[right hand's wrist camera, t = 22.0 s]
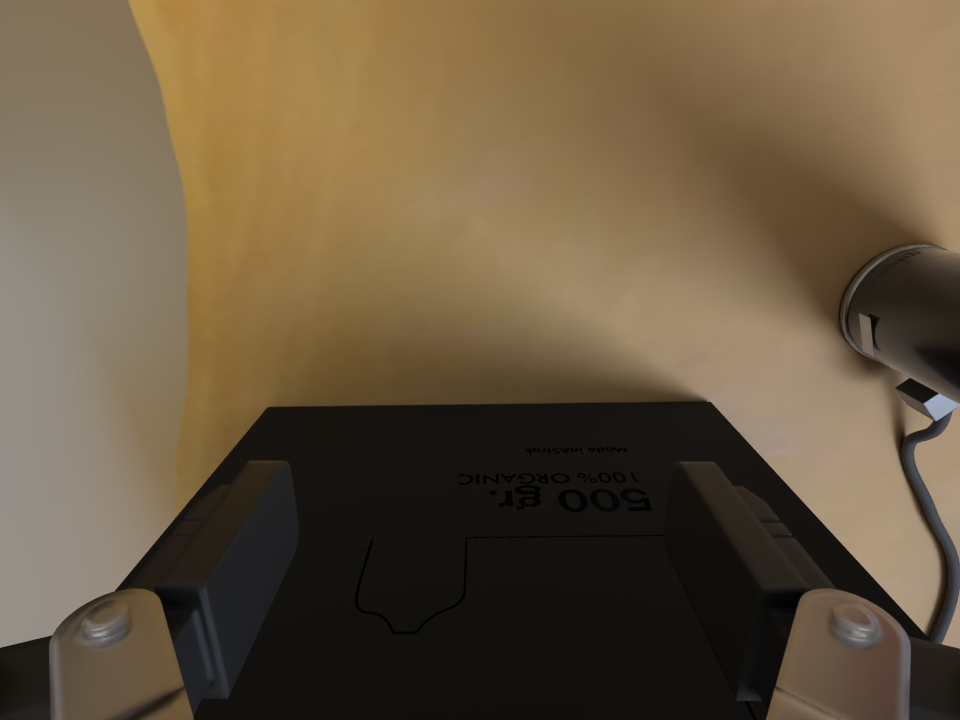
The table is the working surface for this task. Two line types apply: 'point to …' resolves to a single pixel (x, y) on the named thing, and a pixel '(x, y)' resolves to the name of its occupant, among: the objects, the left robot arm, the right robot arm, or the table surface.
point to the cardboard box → (496, 564)
